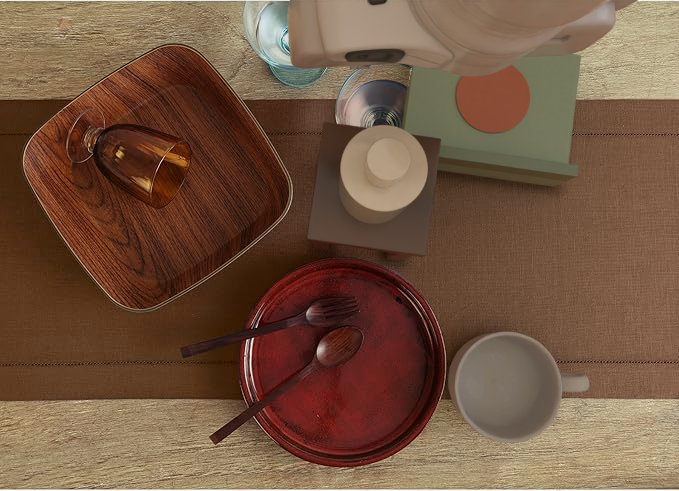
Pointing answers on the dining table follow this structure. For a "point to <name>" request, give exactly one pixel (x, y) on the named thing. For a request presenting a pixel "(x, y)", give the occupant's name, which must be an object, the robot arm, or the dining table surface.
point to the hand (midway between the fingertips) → (419, 55)
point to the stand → (342, 229)
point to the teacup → (509, 386)
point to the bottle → (381, 173)
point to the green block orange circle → (500, 119)
